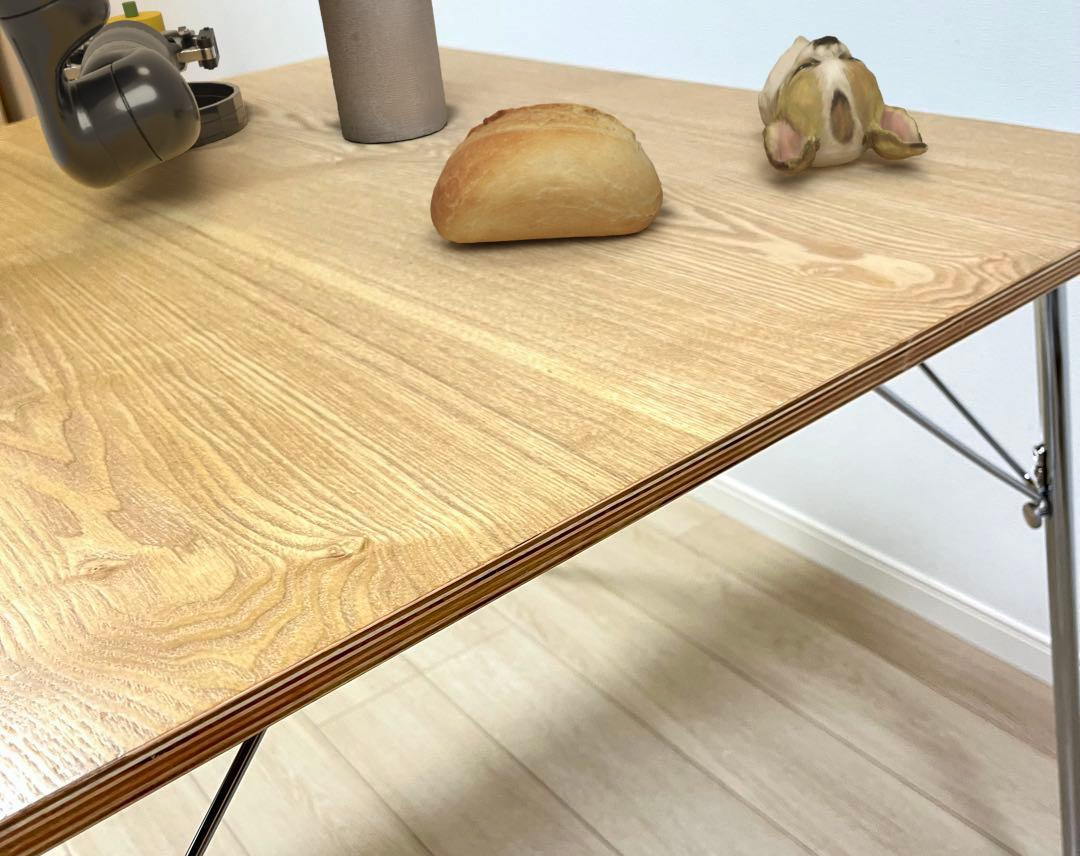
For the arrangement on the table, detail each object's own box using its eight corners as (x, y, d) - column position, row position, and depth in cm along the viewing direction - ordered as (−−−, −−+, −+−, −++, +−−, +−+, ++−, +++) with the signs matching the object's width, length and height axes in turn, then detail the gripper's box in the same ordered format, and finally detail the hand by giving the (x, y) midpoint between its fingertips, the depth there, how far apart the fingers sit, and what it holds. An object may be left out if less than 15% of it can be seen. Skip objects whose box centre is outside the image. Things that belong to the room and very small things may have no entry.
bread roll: (438, 224, 79) (420, 104, 75) (653, 200, 79) (648, 79, 75) (433, 273, 71) (413, 142, 67) (672, 247, 71) (668, 114, 67)
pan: (69, 168, 102) (58, 134, 101) (83, 128, 116) (74, 97, 114) (250, 139, 105) (242, 105, 103) (244, 103, 118) (237, 73, 117)
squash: (134, 139, 107) (97, 10, 101) (136, 127, 112) (101, 2, 106) (189, 130, 108) (156, 1, 102) (190, 118, 113) (158, -6, 106)
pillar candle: (321, 135, 104) (285, -49, 95) (407, 110, 109) (380, -67, 100) (384, 150, 97) (351, -46, 89) (472, 122, 102) (448, -66, 94)
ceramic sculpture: (871, 3, 84) (947, 55, 72) (863, 123, 89) (933, 190, 77) (728, 22, 84) (780, 77, 72) (728, 140, 89) (777, 211, 77)
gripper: (207, 15, 92) (205, -10, 105) (25, 40, 90) (46, 12, 103) (230, 111, 96) (225, 75, 110) (56, 138, 94) (72, 98, 107)
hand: (138, 45), depth 106 cm, fingers open, 8 cm apart
